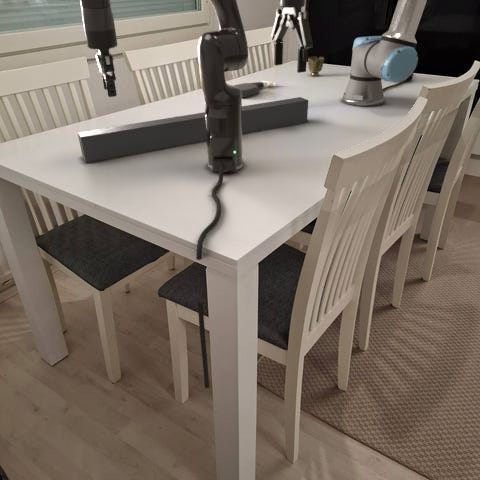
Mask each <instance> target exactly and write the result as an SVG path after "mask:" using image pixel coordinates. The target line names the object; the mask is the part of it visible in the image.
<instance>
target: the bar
mask: <svg viewBox="0 0 480 480" xmlns="http://www.w3.org/2000/svg"><path fill="white" fill-rule="evenodd" d="M308 112H309V99H306V98H304V97H301V96H298V97H293V98H286V99H280V100H274V101H266V102H261V103H255V104H254V103H253V104H247V105H242V135H244V134H250V133H255V132H261V131H266V130H271V129H277V128H281V127H282V128H283V127H288V126H292V125H298V124H303V123H308V114H309V113H308ZM77 137H78V141H79V146H80V151H81V155H82V159H83V160H84V162H85V164H88V163H93V162H99V161H105V160H110V159H114V158H121V157H126V156H131V155H138V154H142V153H148V152H152V151H158V150H164V149H168V148H174V147H179V146H186V145H190V144H191V145H192V144H197V143H202V142H207V136H206V118H205V111H203V112H197V113H191V114H184V115H179V116H172V117H166V118H161V119H153V120H147V121H140V122H135V123H129V124H122V125H115V126H110V127H109V126H108V127H103V128H98V129H90V130H85V131H78V132H77Z"/></svg>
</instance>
